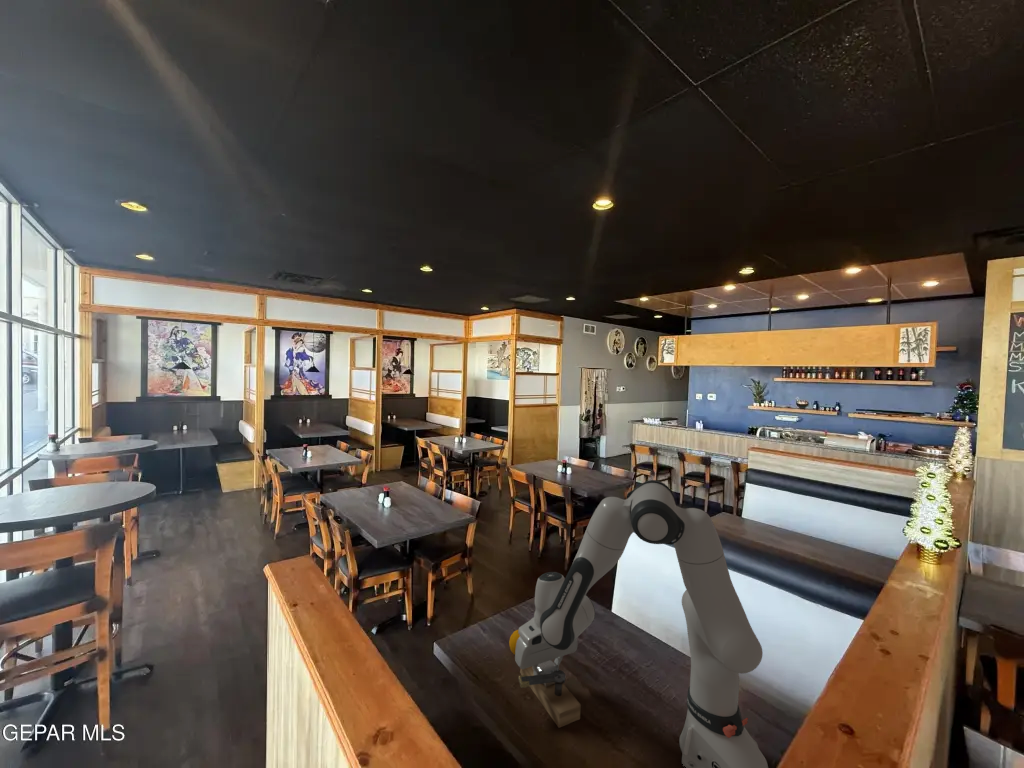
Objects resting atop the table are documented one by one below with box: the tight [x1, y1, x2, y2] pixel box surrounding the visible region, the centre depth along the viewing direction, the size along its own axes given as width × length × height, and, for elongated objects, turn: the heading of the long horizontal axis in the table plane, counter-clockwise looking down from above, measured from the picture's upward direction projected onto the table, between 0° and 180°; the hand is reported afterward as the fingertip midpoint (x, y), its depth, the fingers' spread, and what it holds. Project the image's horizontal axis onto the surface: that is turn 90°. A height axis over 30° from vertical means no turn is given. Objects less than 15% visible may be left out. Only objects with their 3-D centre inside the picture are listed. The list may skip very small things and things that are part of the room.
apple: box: [508, 629, 520, 656], centre depth 139 cm, size 8×8×8 cm
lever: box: [517, 669, 566, 689], centre depth 116 cm, size 13×4×2 cm, turn 102°
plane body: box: [519, 666, 582, 729], centre depth 122 cm, size 22×7×8 cm, turn 27°
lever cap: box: [532, 659, 560, 687], centre depth 123 cm, size 8×5×3 cm, turn 27°
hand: (546, 672), depth 123 cm, fingers closed on lever cap, 5 cm apart
